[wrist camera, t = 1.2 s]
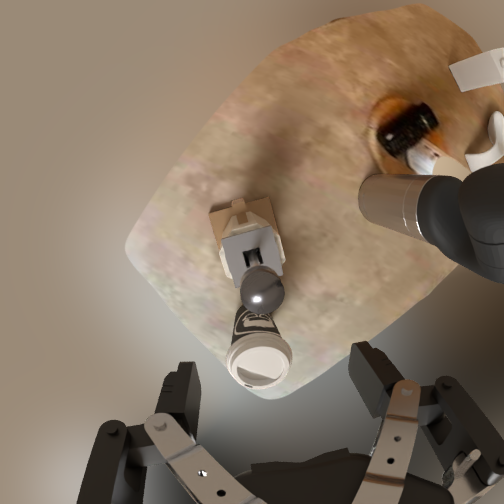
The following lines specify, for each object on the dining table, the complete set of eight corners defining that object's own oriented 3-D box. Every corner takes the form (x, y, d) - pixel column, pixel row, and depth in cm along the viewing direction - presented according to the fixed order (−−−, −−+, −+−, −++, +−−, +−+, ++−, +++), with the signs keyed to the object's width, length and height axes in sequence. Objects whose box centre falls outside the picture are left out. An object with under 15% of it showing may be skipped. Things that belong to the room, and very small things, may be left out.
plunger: (265, 227, 33) (286, 257, 20) (274, 263, 35) (298, 312, 22) (227, 238, 33) (223, 274, 20) (237, 274, 35) (241, 328, 22)
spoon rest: (491, 106, 41) (509, 103, 34) (507, 143, 43) (524, 144, 37) (457, 142, 43) (478, 141, 36) (475, 186, 46) (496, 188, 39)
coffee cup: (216, 316, 49) (210, 366, 34) (256, 284, 48) (266, 327, 33) (249, 348, 51) (255, 402, 36) (288, 319, 50) (308, 369, 35)
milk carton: (460, 63, 37) (511, 46, 19) (473, 88, 39) (525, 76, 21) (447, 65, 38) (501, 46, 20) (460, 92, 40) (517, 79, 21)
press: (266, 189, 44) (282, 193, 29) (282, 253, 46) (303, 285, 32) (207, 206, 44) (194, 217, 29) (226, 269, 46) (223, 307, 32)
